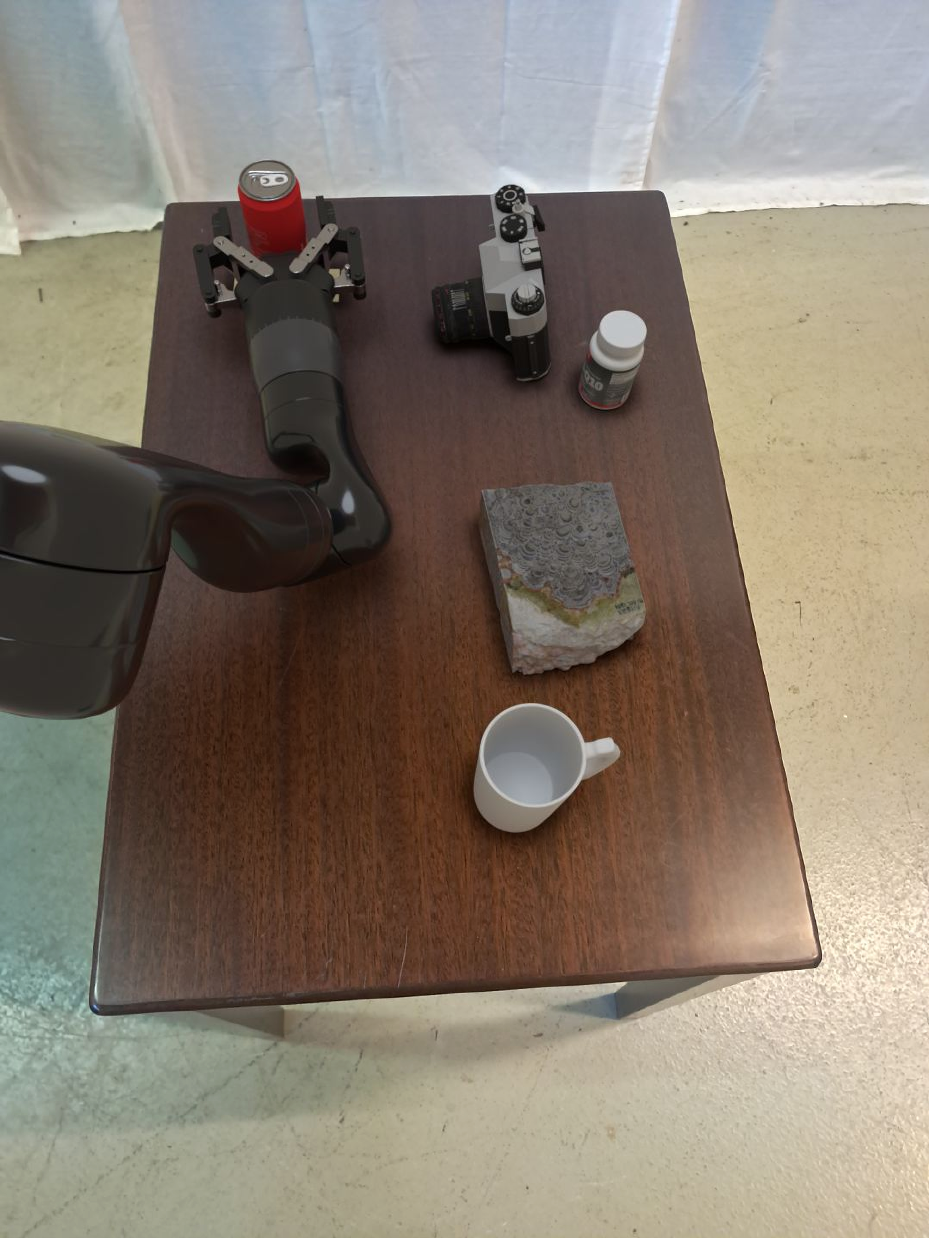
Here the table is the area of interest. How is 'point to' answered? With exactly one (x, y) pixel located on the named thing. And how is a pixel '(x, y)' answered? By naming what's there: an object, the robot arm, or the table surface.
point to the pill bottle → (613, 360)
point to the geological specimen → (559, 573)
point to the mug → (533, 765)
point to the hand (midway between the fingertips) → (272, 208)
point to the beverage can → (272, 208)
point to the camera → (503, 289)
